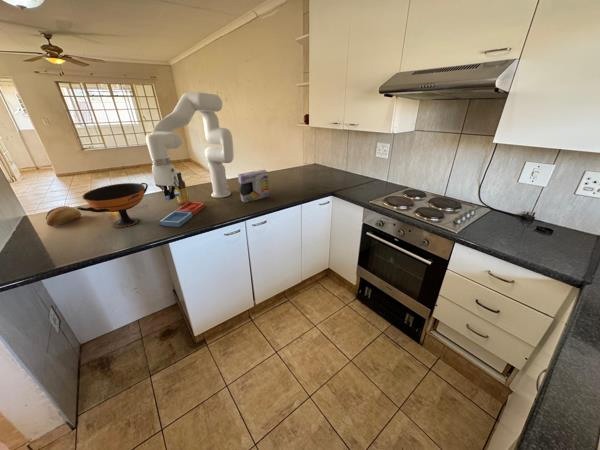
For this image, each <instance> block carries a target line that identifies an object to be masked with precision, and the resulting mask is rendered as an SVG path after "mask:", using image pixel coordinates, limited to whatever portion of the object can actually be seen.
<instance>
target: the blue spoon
mask: <svg viewBox="0 0 600 450" xmlns="http://www.w3.org/2000/svg"><path fill="white" fill-rule="evenodd" d="M174 193H175V198H177V196H179V195H180V193H179V192H176V191H174ZM164 199H165V201H171V199H170V196H169V195H167V196H166V197H165V196H164Z"/></svg>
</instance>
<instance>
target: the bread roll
mask: <svg viewBox="0 0 600 450" xmlns="http://www.w3.org/2000/svg"><path fill="white" fill-rule="evenodd" d="M81 217H82V213H81V210H79V209H77V208H75V207H73V206H70V205H63V206H58V207H54V208H52V209H50V210H49V211H48V212H47V213H46V216H45V221H46V225H47V226H49V227H56V226H59V225H63V224H65V223H68V222H71V221H74V220H77V219H80V218H81Z"/></svg>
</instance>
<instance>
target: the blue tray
mask: <svg viewBox="0 0 600 450" xmlns="http://www.w3.org/2000/svg"><path fill="white" fill-rule="evenodd" d="M193 217H194V215H193V214H192V212H181V211H176V210H174V211H173V212H171V213H169V214H168V215H166V216H165V217H164V218H162V219H160V220H159V224H160V226H163V227H164V226H165V227H176V228H177V227H178V228H180V227H181V226H182V225H184V224H185V223H187V222H188V221H189V220H190V219H192V218H193Z"/></svg>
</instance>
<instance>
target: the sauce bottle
mask: <svg viewBox="0 0 600 450" xmlns="http://www.w3.org/2000/svg"><path fill="white" fill-rule="evenodd" d="M176 174H177V177H178V181H179V183H178V184H179V187H177V188H175V190H174V192H179V193H180V195H179V196H176V198H177V202H178V204H179V205H180V206H183V205H184V204H186V203H187V202H190V198H189V193H188V189H187V186H186V185H187V184H186V182H185V181H184V180H183V177H182V172H181V171H176ZM174 186H175V185H174Z"/></svg>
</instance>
